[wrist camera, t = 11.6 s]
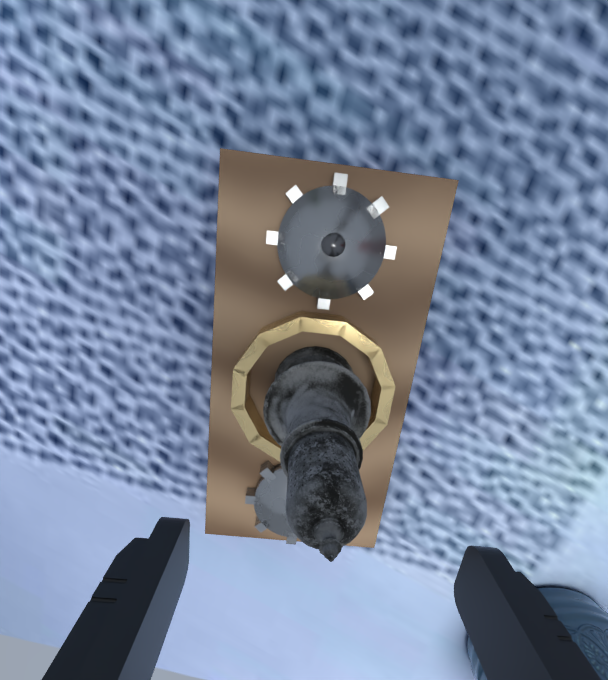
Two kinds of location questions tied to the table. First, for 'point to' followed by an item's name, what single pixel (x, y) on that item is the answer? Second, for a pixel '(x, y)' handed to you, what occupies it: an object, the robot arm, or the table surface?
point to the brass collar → (316, 324)
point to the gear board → (275, 303)
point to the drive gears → (321, 287)
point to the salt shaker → (320, 445)
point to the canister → (571, 628)
